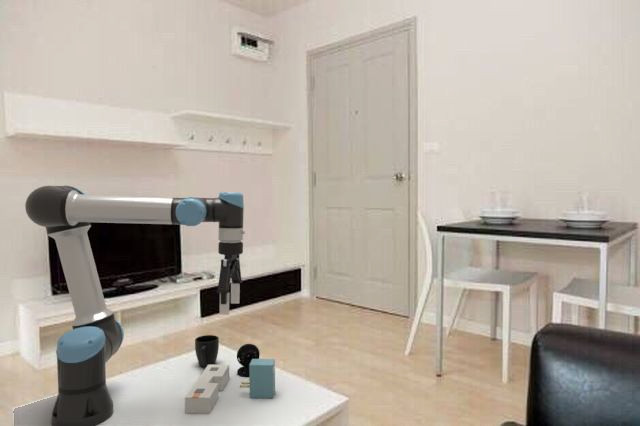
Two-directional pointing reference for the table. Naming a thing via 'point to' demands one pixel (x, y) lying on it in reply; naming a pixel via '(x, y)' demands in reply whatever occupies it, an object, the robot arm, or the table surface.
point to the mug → (206, 350)
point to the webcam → (246, 358)
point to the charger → (261, 378)
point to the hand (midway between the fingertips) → (229, 308)
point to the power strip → (206, 389)
